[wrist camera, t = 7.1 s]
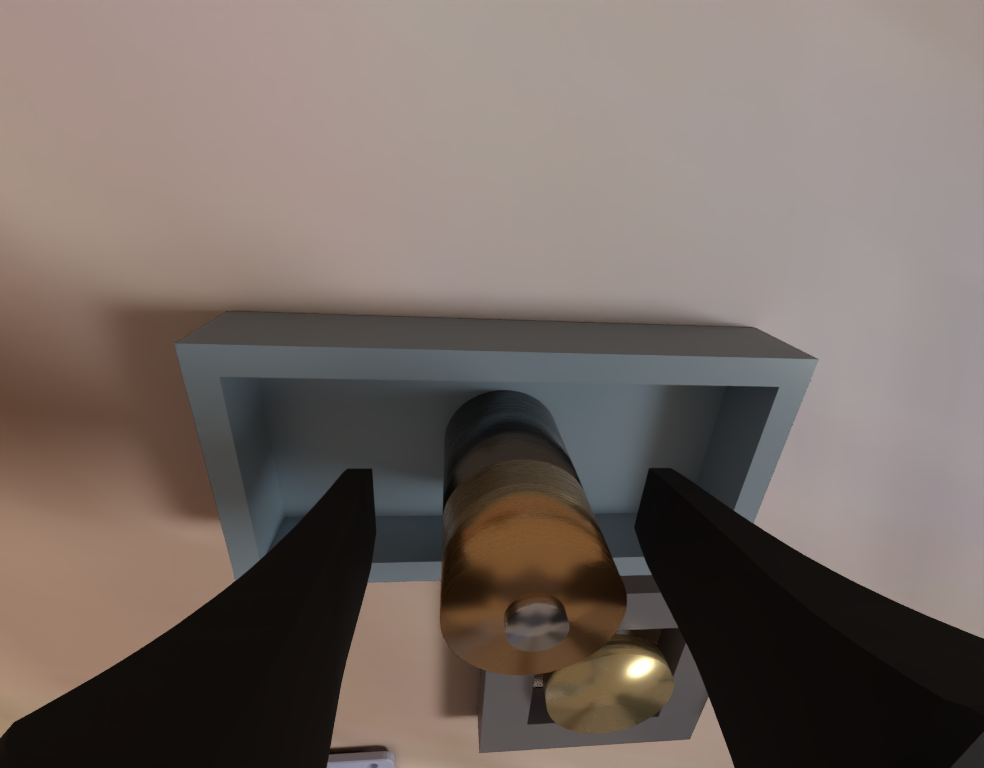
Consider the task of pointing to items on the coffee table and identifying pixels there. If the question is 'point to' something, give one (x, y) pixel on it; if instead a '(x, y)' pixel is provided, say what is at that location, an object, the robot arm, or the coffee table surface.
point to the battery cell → (520, 544)
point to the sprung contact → (610, 687)
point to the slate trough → (452, 382)
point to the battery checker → (527, 725)
